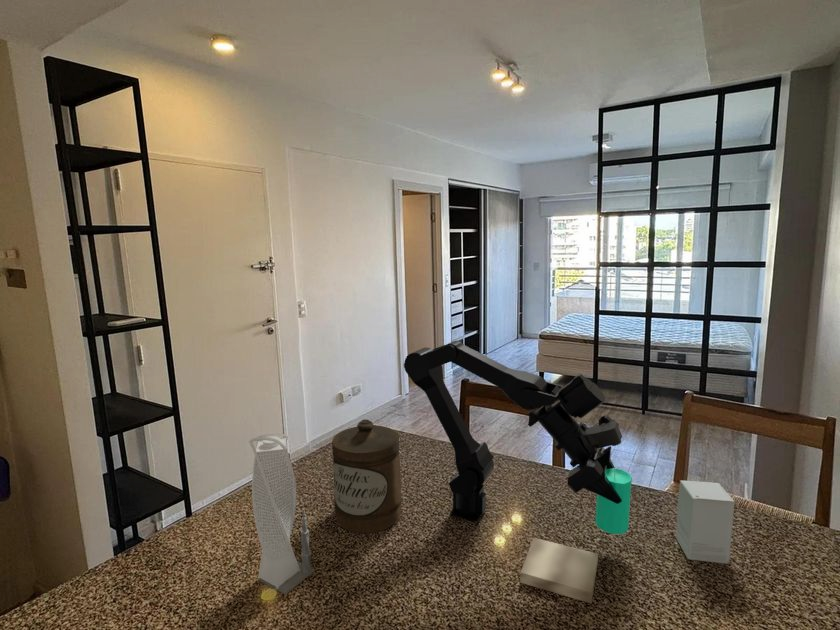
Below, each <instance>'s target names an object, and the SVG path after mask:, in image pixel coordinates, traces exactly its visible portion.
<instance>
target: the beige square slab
mask: <svg viewBox="0 0 840 630" xmlns="http://www.w3.org/2000/svg"><path fill="white" fill-rule="evenodd" d="M598 557H599V553H596V552H592V551H588V550H585V549H581V548H576V547H573V546H568V545H565V544H561V543H556V542H553V541H548V540H545V539H542V538H537V537H533V538H532V541H531V544H530V545H529V549H528V551H527V554H526V557H525V559H524V561H523V564H522V568H521V571H520V574H519V575H520V581H519V583H520V584H523V585H528V586H531V587H534V588H537V589H541V590H545V591H548V592H551V593H555V594H558V595H561V596H565V597H568V598H571V599H575V600H579V601H581V602H586V603H589V604H592V602H593V596H594V595H593V594H594V589H595V582H596V576H597V570H598V560H599V558H598Z"/></svg>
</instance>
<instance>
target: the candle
mask: <svg viewBox="0 0 840 630" xmlns="http://www.w3.org/2000/svg"><path fill="white" fill-rule="evenodd" d="M614 467H615V468H611V469H606V477H607V478H608V480H609V481H610V483H611V484H612V486H613V487H614V489H615V490H616V492H617V493H618V495H619V496H620V498H621V499H622V502H620V503H619V504H617V503H614V502H612V501H610V500H608V499H606V498H604V497H602V496H600V495H598V494H596V502H595V503H596V505H595V520H594V521H595V524H596V526H597V527H598V529H600V530H602V531H603V532H606V533H609V534H613V535H622V534H624V533H627V532H628V530H629V525H630V524H629V523H630V508H631V493H632V480H633V479H632V478H633V477H632V475H631V474H630V473H629V472H628V471H626V470H624V469H621V468H616V466H614Z"/></svg>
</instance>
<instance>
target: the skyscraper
mask: <svg viewBox="0 0 840 630" xmlns="http://www.w3.org/2000/svg"><path fill="white" fill-rule="evenodd" d="M254 442H256V446H255V445H254ZM287 442H288V435H287V434H285V433H270V434H269V433H268V434H261V435H259V436H257V437H254V438H251V439H250V440H249V441H248V443H249V444H250V447H251V449H252V451H253V454H254V459H253V467H252V480H251V481H252V483H251V499H252V501H251V502H252V511H253V516H254V517H253V518H254V521H255V522H254V524H255V527H256V533H257V536H258V539H259V542H260V547H261V550H262V551H261V557H260V563H259V569H258V577H257V581H260V582H261V583H263V584H265V585H266V586H268V587H270V588H272V589H274V590H276V591H278V593H279V592H280V593H281V594H283V595H287V594H288V593H290V591H292V590H293V589H294V588H296V587H297V586H298V585H299V584H300V583H302V582H303V581H304V580H305V579H306V578H308V577H309V576H310V575H311V574H312V573H314V572H315V569H314V568H313V567H312V566H311V564H312V560H311V559H312V553H311V551H310V531H309V529H308V528H307V516H306V508H302V517H301V521H302V522H301V523H302V524H301V525H302V530H301V531H300V537H301V538H300V539H301V553H300V556H301V562H300V561H299V560H297V558H296V555H295V553H294V550H293V547H292V545H291V538H290V537H291V534H292V531H293V525H294V523H295V521H294V520H295V516H296V509H297V483H296V476H295V471H294V468H293V464H292V462H291V458H290V455H289V451H288V448H287V446H286V445H287Z"/></svg>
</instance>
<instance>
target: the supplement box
mask: <svg viewBox="0 0 840 630" xmlns="http://www.w3.org/2000/svg"><path fill="white" fill-rule="evenodd" d="M677 503H678V504H677V515H676V516H677V517H676V527H675V539H676V540H677V542H678V544H679V545H680V547H681V549H682V551H683V553H684V554H685V556H686V558H687V560H690V561H691V560H692V561H699V562H707V563H708V562H709V563H710V562H711V563H716V564H717V563H718V564H719V563H720V564H728V565H729V564H730V557H731V556H730V555H731V545H732V534H733V523H734V522H733V521H734V511H735V503H736V502H735V500H734V499H733V498H732V497H731V496H730V495H729V493H728V492H727V491H726V490H725V488H724V487H722V485H721V484H720V483H719V482H711V481H709V482H708V481H697V480H696V481H695V480H679V488H678V501H677Z"/></svg>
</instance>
